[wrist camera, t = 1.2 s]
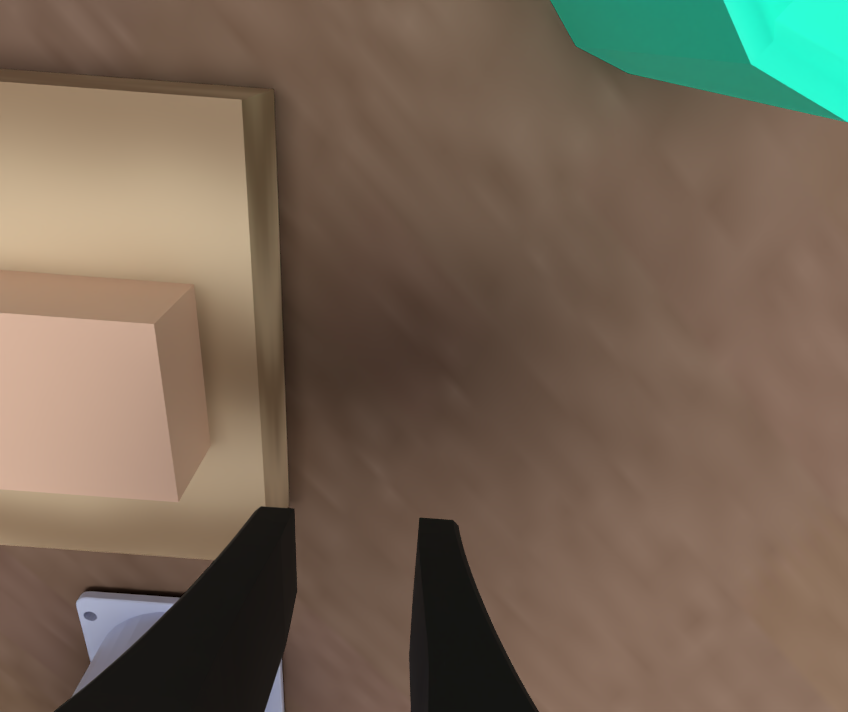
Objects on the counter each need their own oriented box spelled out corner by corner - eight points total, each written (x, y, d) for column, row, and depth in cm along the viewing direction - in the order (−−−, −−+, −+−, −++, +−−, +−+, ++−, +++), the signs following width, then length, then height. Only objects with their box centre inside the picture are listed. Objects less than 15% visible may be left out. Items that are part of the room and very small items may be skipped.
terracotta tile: (210, 445, 18) (178, 502, 16) (39, 433, 18) (-17, 488, 16) (194, 283, 16) (153, 323, 14) (-2, 269, 16) (-73, 307, 14)
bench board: (289, 503, 23) (268, 564, 21) (-95, 475, 23) (-165, 532, 20) (273, 89, 17) (241, 99, 14) (-255, 49, 17) (-386, 52, 14)
